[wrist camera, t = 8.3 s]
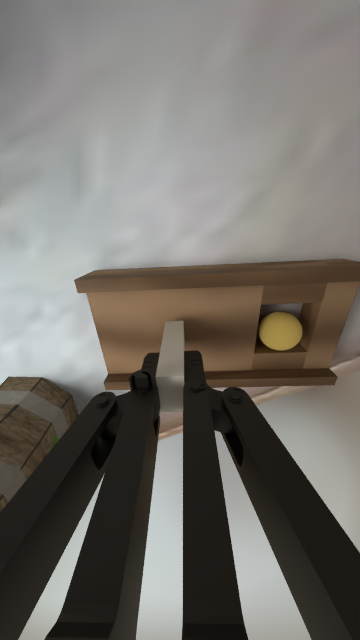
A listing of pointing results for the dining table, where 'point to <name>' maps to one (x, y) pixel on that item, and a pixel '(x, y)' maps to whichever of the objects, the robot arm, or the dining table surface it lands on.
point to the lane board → (223, 318)
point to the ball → (280, 330)
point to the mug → (29, 428)
